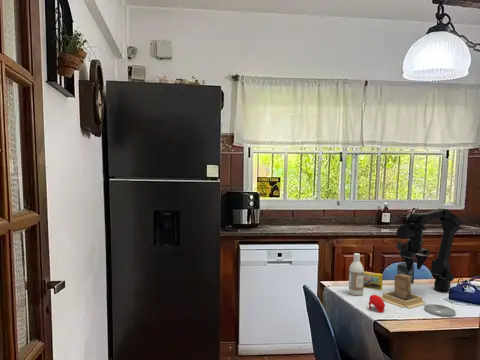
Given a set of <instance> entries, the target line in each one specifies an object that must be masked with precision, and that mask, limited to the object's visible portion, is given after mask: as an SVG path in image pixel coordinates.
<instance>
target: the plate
mask: <svg viewBox="0 0 480 360" xmlns="http://www.w3.org/2000/svg"><path fill="white" fill-rule="evenodd" d="M423 307H424V308H423V309H424V311H425V312H427V313H428V314H430V315H434V316H436V317H437V316H438V317H443V318H444V317H445V318H451V317H455V316H456V314H457V313H456V310H455V309H453V308H452V307H448V306H445V305H442V304H434V303H433V304H432V303H430V304H425V305H423Z"/></svg>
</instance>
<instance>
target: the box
mask: <svg viewBox="0 0 480 360" xmlns="http://www.w3.org/2000/svg"><path fill="white" fill-rule="evenodd" d="M396 271H397V272H396V275H397V274H405V275H408V276H411V284H414V283H415V264H413V266H412V269H411V271H408V269H407V265H406V262H402V263H397V270H396Z"/></svg>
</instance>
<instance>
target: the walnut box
mask: <svg viewBox="0 0 480 360" xmlns="http://www.w3.org/2000/svg"><path fill="white" fill-rule="evenodd" d="M411 287H412V283H411V276H408V275H405V274H397V273H396V274H394V289H393V291H394V297H396V298H399V299H401V300H404V301H407V300H411V294H412V293H411V292H412V291H411V290H412V289H411Z"/></svg>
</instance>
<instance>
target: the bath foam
mask: <svg viewBox="0 0 480 360" xmlns="http://www.w3.org/2000/svg"><path fill="white" fill-rule="evenodd" d="M364 271H365V269H364V266H363V264H362V262H361V254H360V253H357V252H356V253H353V261H352V262H351V263H350V265H349V270H348V293H349V294H350V295H352V296H355V297H358V296H363V295H364V288H365V287H364Z"/></svg>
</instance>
